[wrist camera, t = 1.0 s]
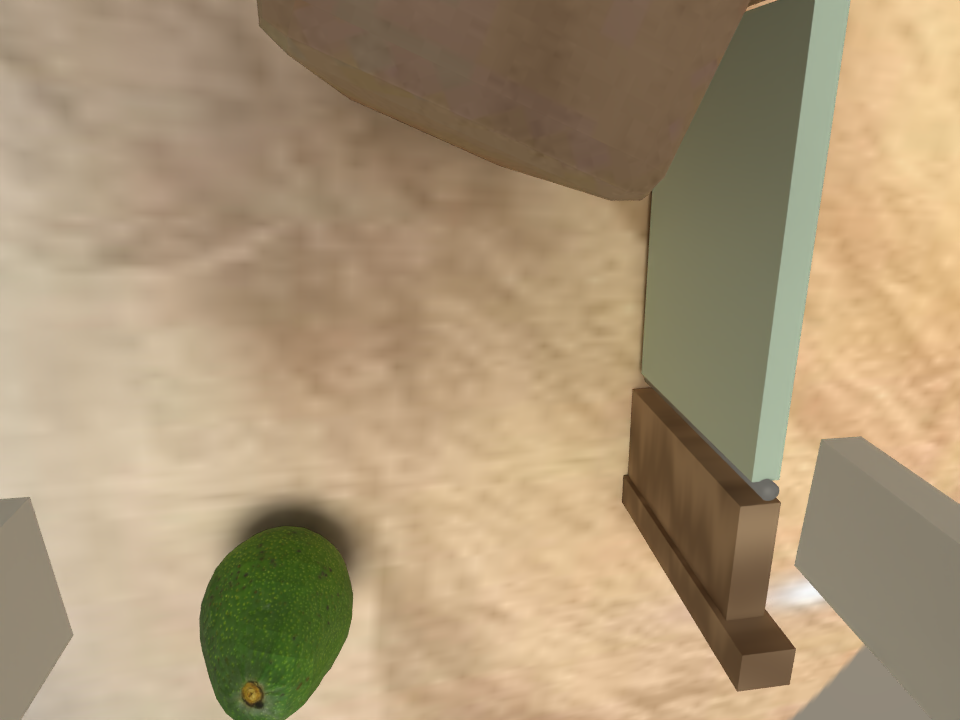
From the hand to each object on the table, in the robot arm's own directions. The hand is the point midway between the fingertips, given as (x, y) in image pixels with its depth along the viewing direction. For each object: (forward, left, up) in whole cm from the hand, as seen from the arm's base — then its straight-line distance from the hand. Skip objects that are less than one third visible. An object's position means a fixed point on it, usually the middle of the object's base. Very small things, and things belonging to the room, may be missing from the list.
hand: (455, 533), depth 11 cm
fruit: (+18, -9, -25) cm, 32 cm away
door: (-1, +14, -25) cm, 28 cm away
